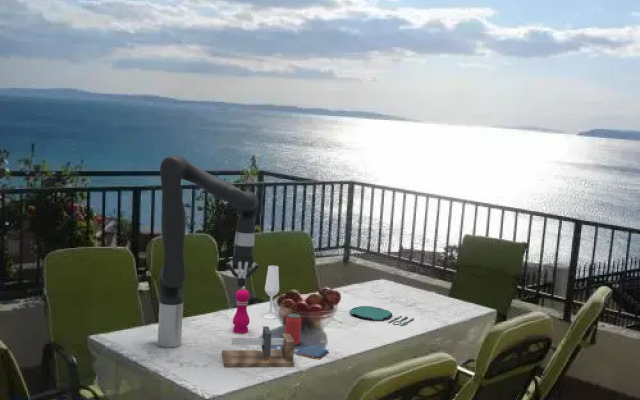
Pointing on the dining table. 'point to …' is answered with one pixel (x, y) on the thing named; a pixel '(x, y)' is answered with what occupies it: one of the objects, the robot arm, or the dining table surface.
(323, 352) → the woven mat
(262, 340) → the light grey beam
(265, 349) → the dark grey block
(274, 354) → the base board
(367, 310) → the cutlery set
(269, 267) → the champagne flute
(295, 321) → the beer can
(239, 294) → the pepper mill
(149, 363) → the dining table surface
